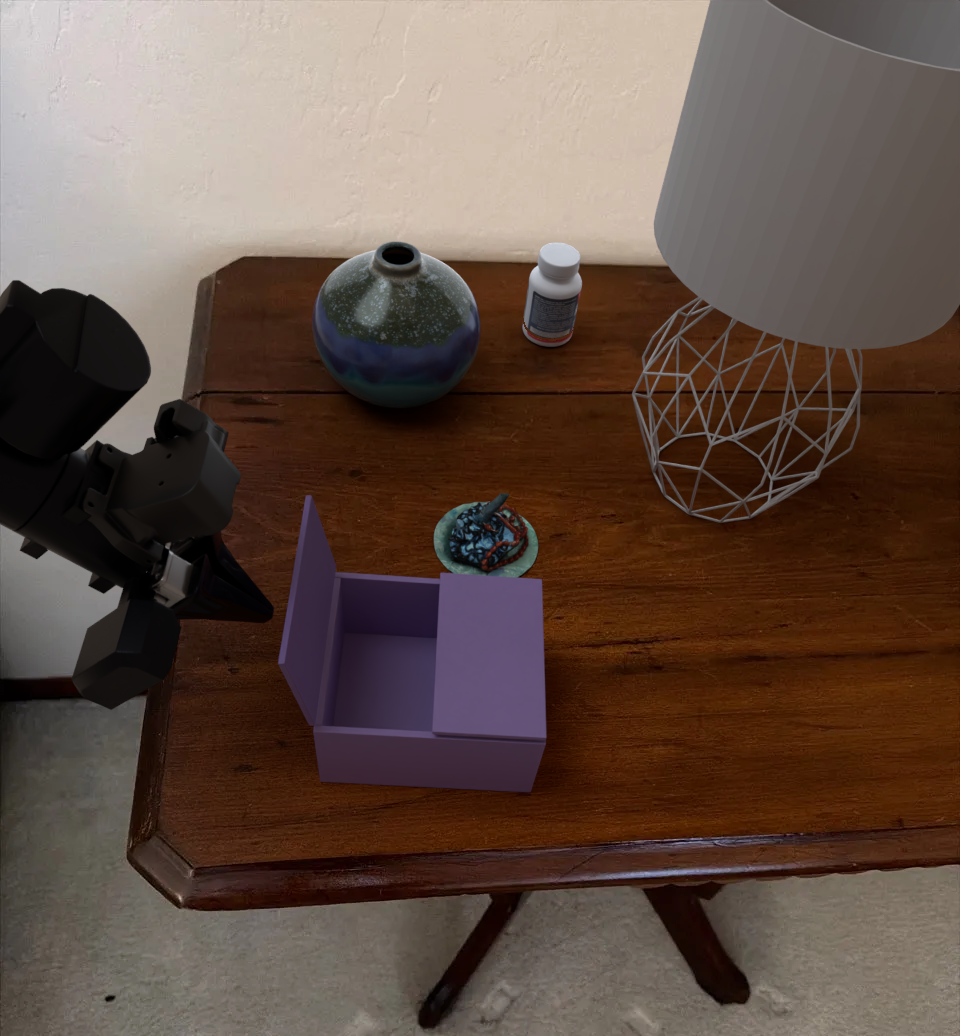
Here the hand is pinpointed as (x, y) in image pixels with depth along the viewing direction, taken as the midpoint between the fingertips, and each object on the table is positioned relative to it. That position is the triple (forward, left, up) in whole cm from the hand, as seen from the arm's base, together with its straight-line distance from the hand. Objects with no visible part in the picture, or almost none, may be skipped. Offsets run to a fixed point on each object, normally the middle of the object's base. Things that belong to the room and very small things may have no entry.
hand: (269, 616), depth 59 cm
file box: (+11, 0, -11) cm, 15 cm away
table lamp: (+36, +26, -11) cm, 46 cm away
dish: (+15, +16, -11) cm, 25 cm away
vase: (+6, +36, -11) cm, 39 cm away
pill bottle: (+21, +45, -11) cm, 51 cm away
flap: (+3, 0, +1) cm, 3 cm away
